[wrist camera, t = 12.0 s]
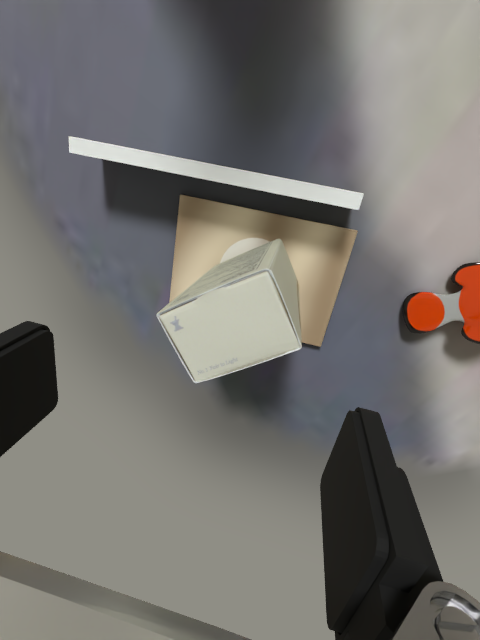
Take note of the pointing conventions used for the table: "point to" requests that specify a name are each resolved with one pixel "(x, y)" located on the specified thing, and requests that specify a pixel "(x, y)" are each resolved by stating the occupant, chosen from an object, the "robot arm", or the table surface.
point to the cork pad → (253, 231)
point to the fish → (448, 305)
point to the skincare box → (236, 314)
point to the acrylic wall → (217, 173)
